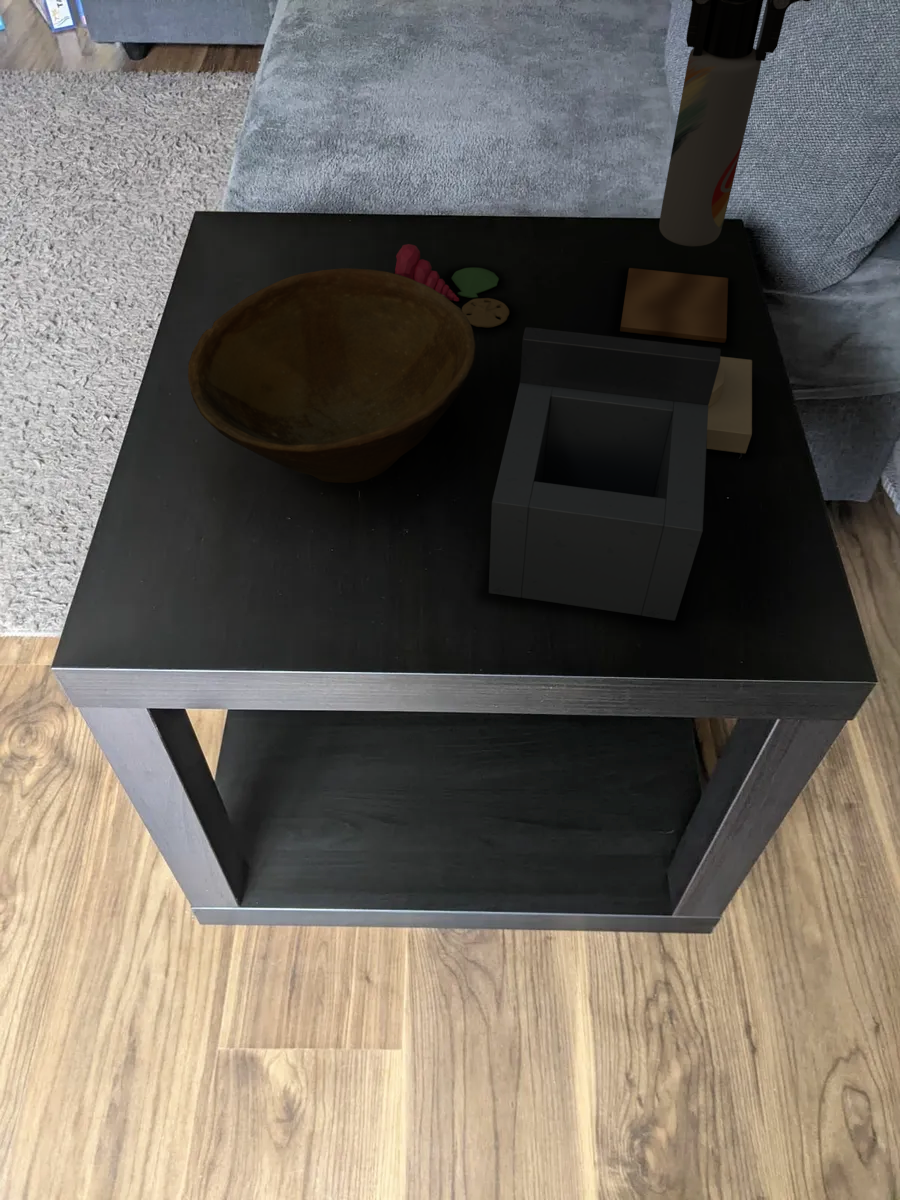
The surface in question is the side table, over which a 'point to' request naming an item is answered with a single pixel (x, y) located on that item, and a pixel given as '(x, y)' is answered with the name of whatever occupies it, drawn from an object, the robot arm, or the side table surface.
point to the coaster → (675, 305)
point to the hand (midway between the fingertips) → (729, 53)
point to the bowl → (333, 370)
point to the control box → (731, 406)
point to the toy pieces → (464, 279)
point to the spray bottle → (711, 124)
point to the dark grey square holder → (603, 473)
